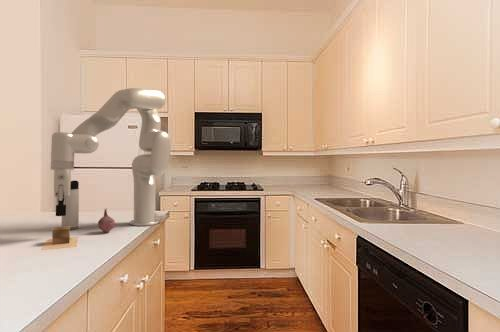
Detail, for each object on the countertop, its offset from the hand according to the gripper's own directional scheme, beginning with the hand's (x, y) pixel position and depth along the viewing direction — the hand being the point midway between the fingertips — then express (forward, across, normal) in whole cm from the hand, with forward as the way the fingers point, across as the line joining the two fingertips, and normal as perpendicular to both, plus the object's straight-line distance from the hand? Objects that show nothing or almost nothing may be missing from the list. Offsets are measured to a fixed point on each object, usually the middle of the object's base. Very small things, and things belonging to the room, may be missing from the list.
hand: (60, 215), depth 124 cm
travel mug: (+8, +18, -3) cm, 20 cm away
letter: (+8, -10, -1) cm, 13 cm away
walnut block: (+8, -8, -1) cm, 12 cm away
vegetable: (+8, +2, -16) cm, 18 cm away
